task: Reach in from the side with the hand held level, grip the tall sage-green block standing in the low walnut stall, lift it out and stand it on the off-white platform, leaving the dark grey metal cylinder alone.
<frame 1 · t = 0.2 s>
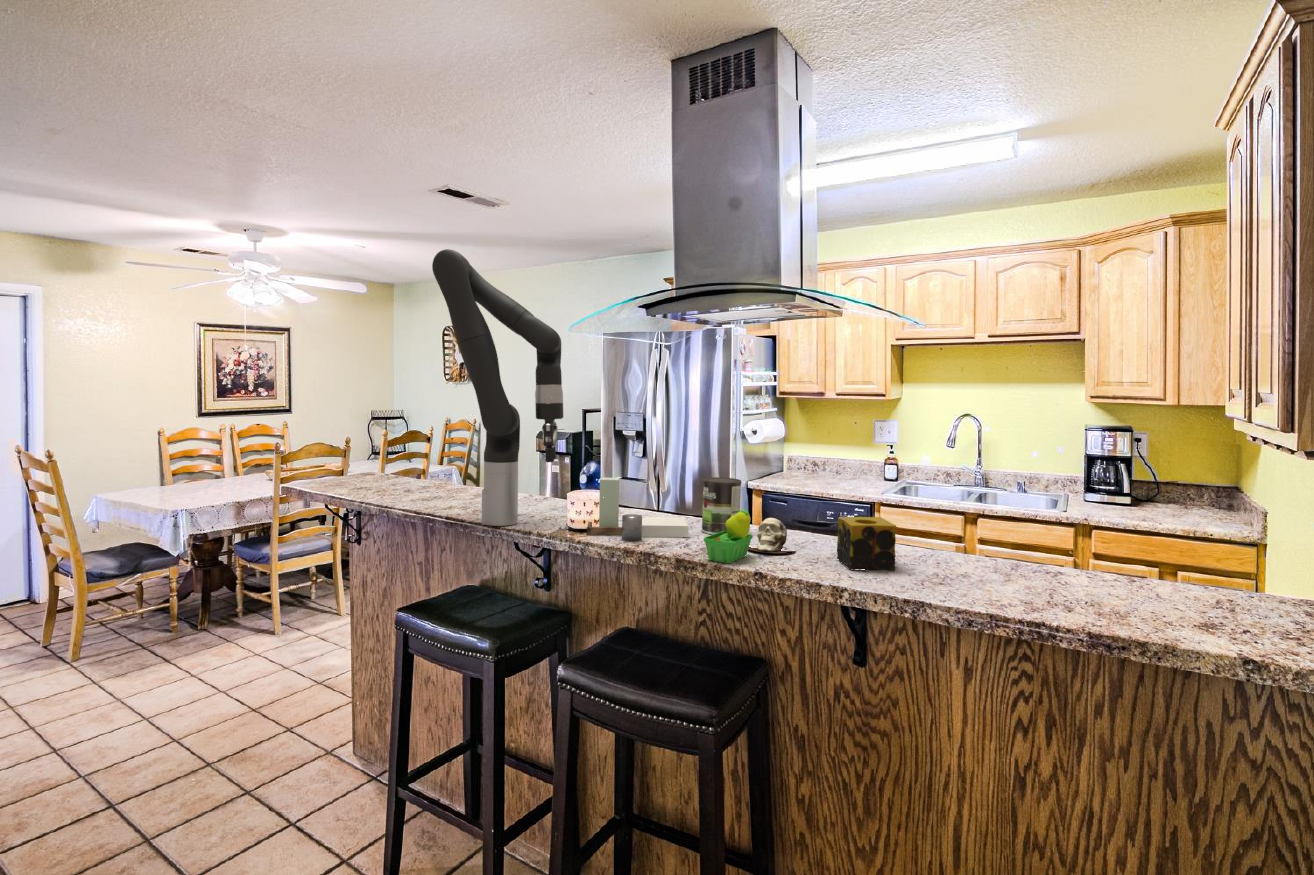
hand: (550, 460, 189), 18 cm above the countertop, tool pointing down, fingers open, 8 cm apart
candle: (865, 566, 151), on the countertop
sage block: (609, 505, 182), in the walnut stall
white platform: (661, 532, 182), on the countertop
skull: (769, 551, 164), on the countertop
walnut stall: (608, 531, 182), on the countertop
fruit basket: (730, 559, 155), on the countertop
coffee can: (720, 532, 185), on the countertop
grey cylinder: (631, 539, 173), on the countertop
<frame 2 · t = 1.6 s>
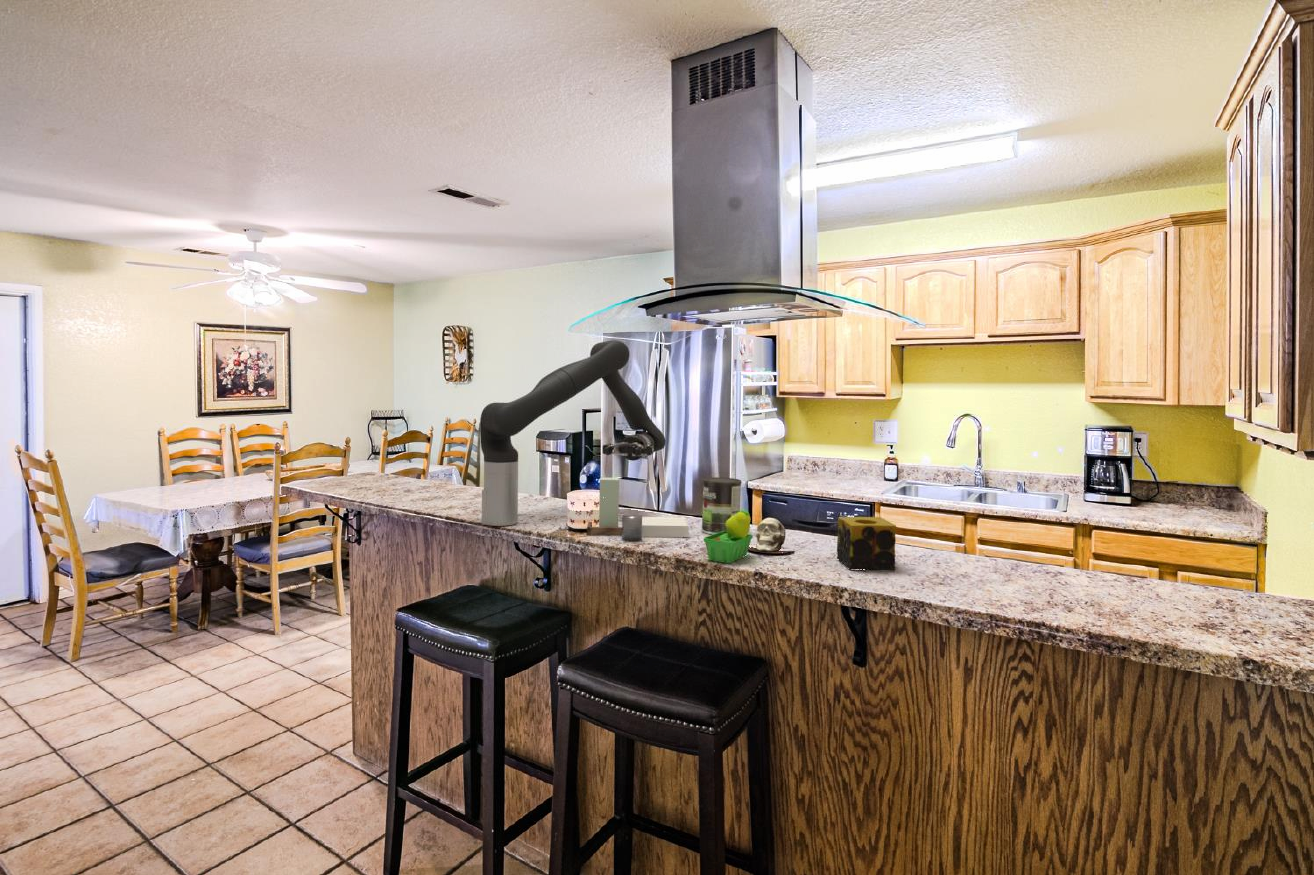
hand: (621, 451, 192), 20 cm above the countertop, tool horizontal, fingers open, 8 cm apart
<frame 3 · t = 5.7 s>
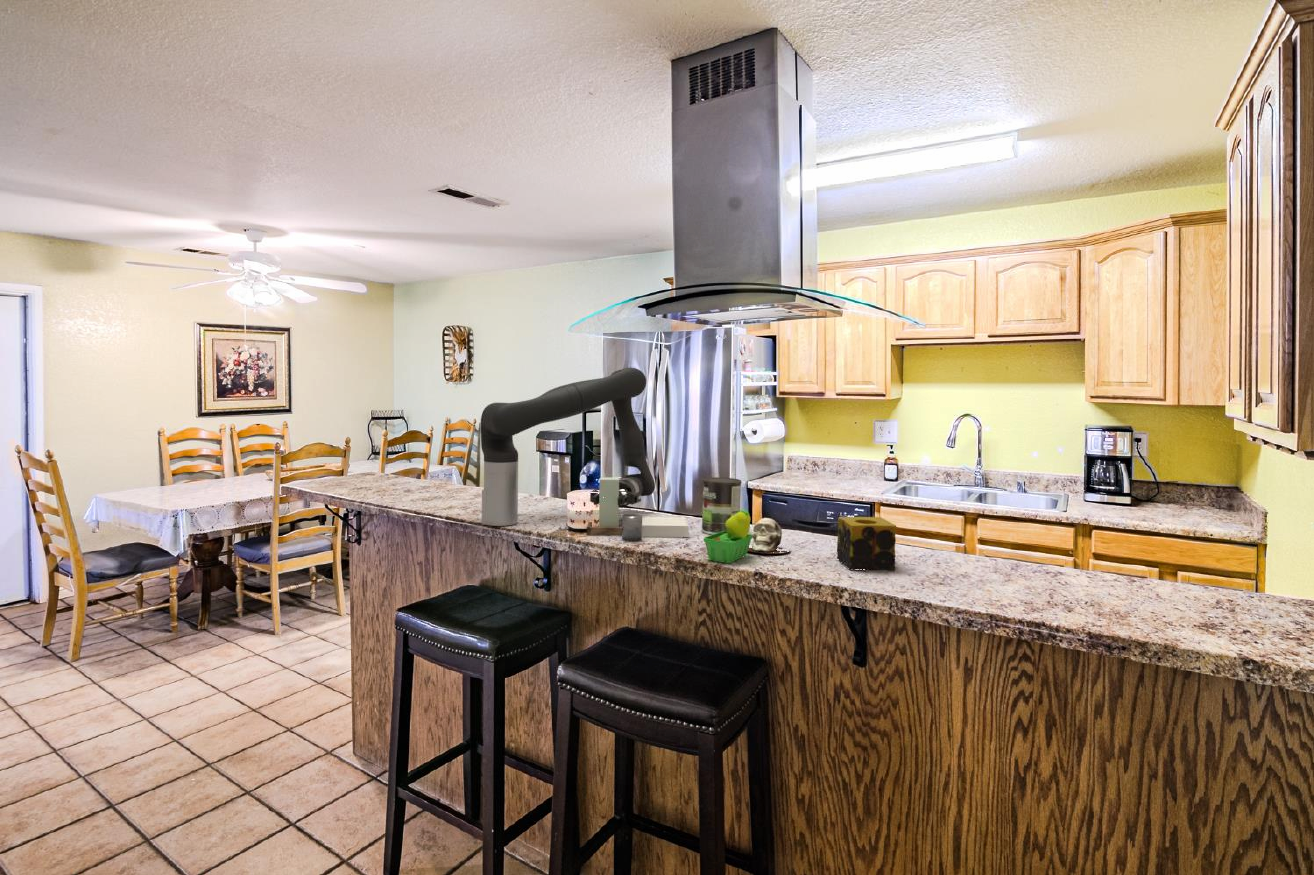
hand: (607, 500, 179), 8 cm above the countertop, tool horizontal, fingers closed on sage block, 6 cm apart
sage block: (609, 504, 182), in the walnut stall, touching gripper
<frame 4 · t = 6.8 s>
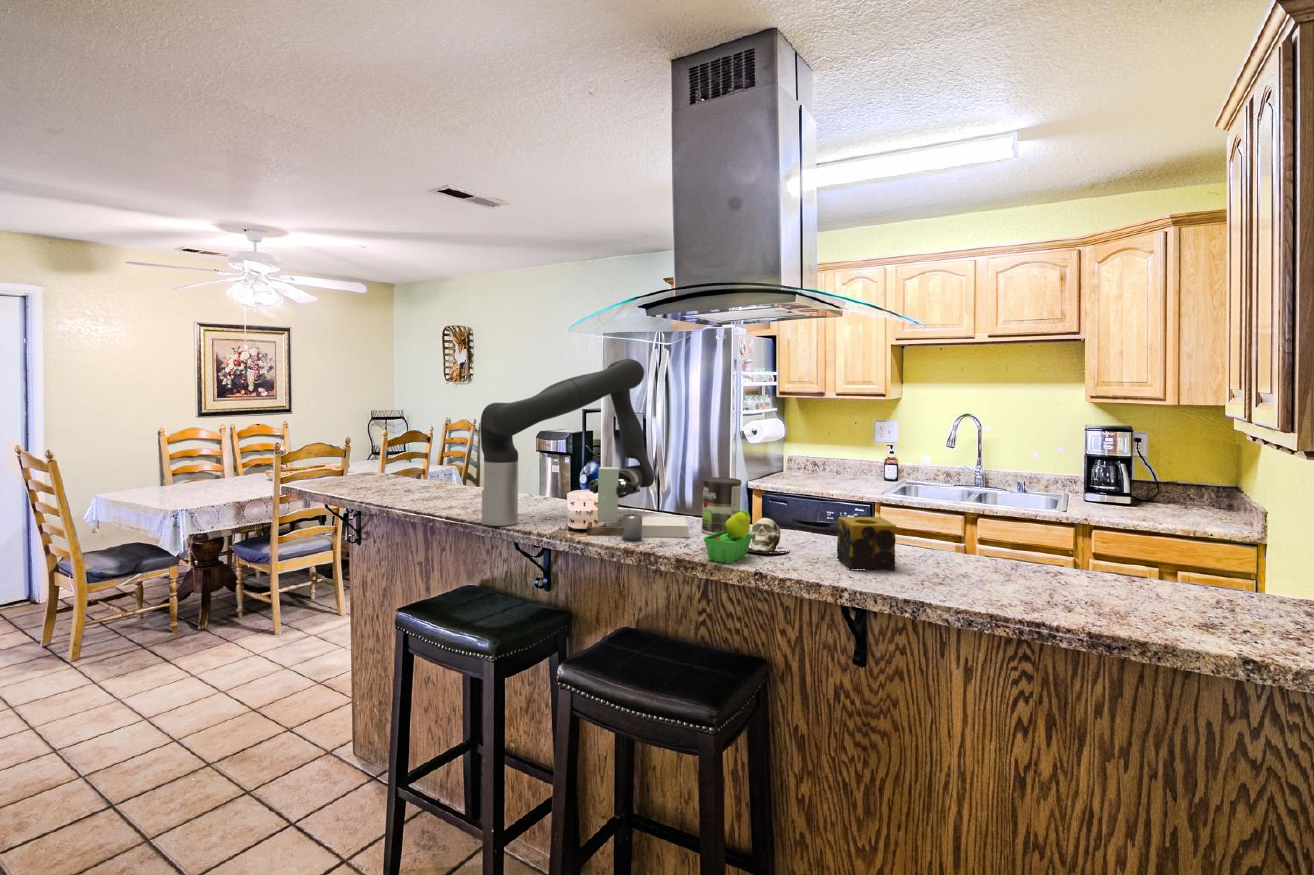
hand: (606, 490, 179), 11 cm above the countertop, tool horizontal, fingers closed on sage block, 6 cm apart
sage block: (608, 494, 182), point 10 cm above the countertop, touching gripper
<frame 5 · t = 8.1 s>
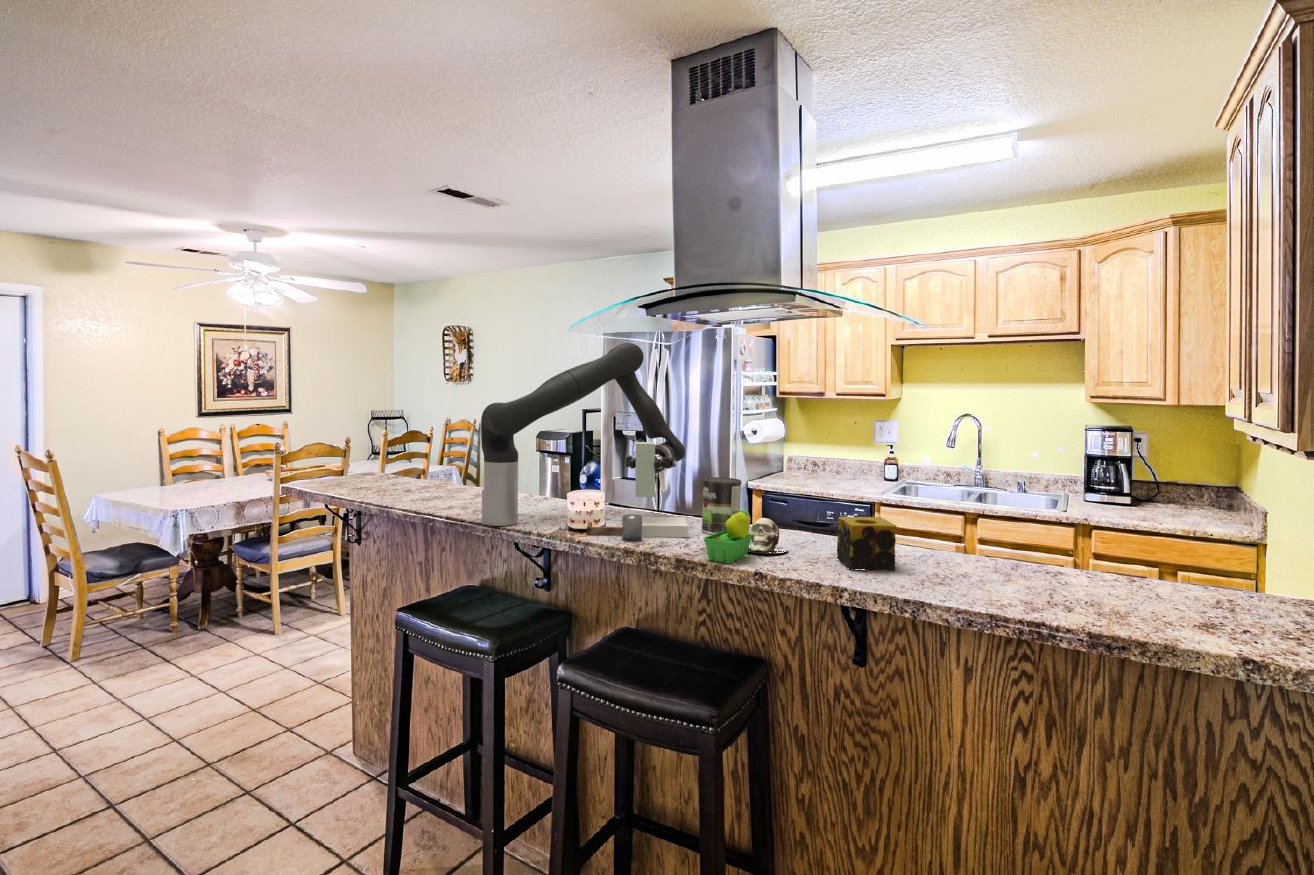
hand: (643, 464, 179), 18 cm above the countertop, tool horizontal, fingers closed on sage block, 6 cm apart
sage block: (645, 469, 182), point 17 cm above the countertop, touching gripper
when the fingers open (13 cm above the countertop, at t = 10.2 s): sage block drops 1 cm, resting on white platform.
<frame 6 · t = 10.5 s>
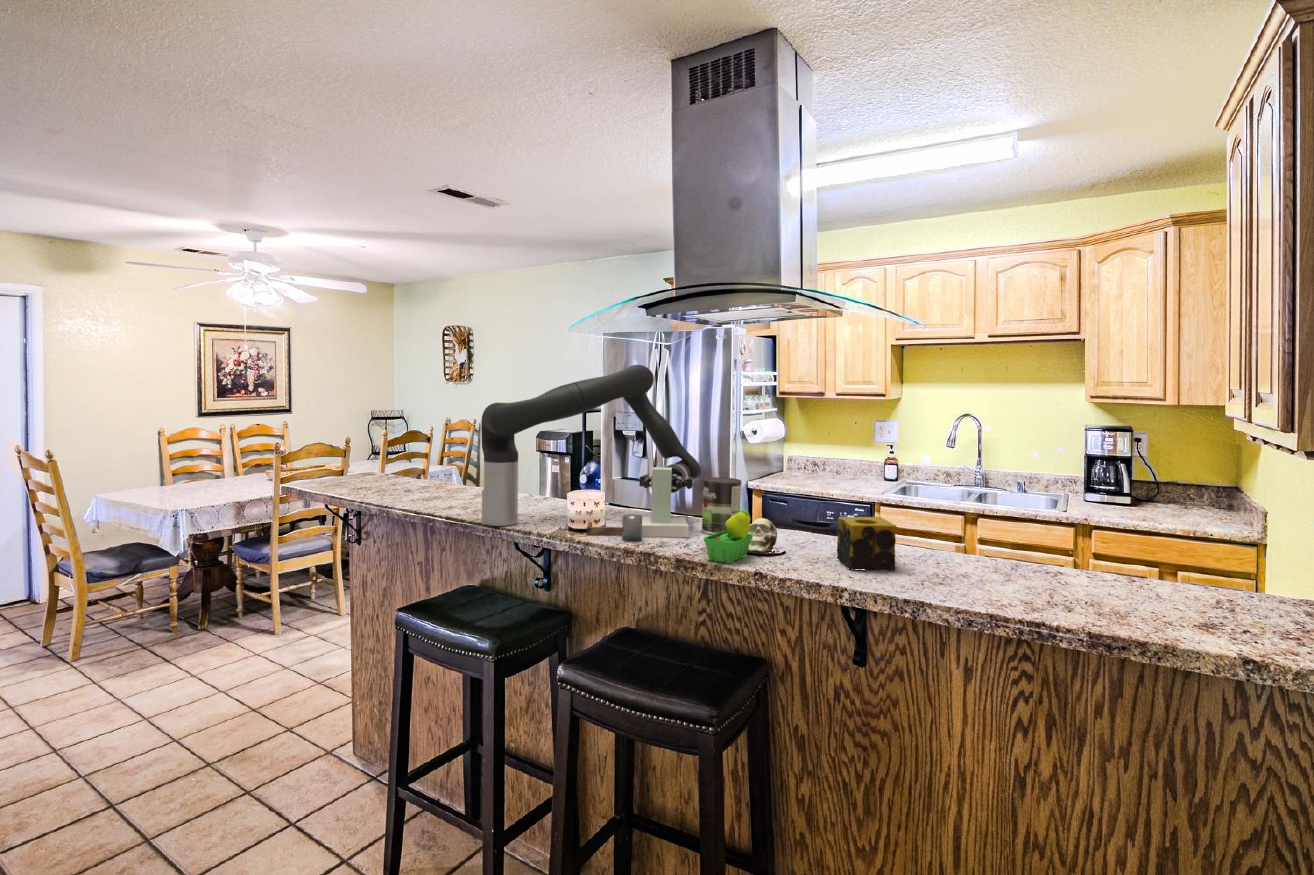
hand: (661, 484, 179), 13 cm above the countertop, tool horizontal, fingers open, 8 cm apart
sage block: (661, 494, 181), on the white platform, point 10 cm above the countertop
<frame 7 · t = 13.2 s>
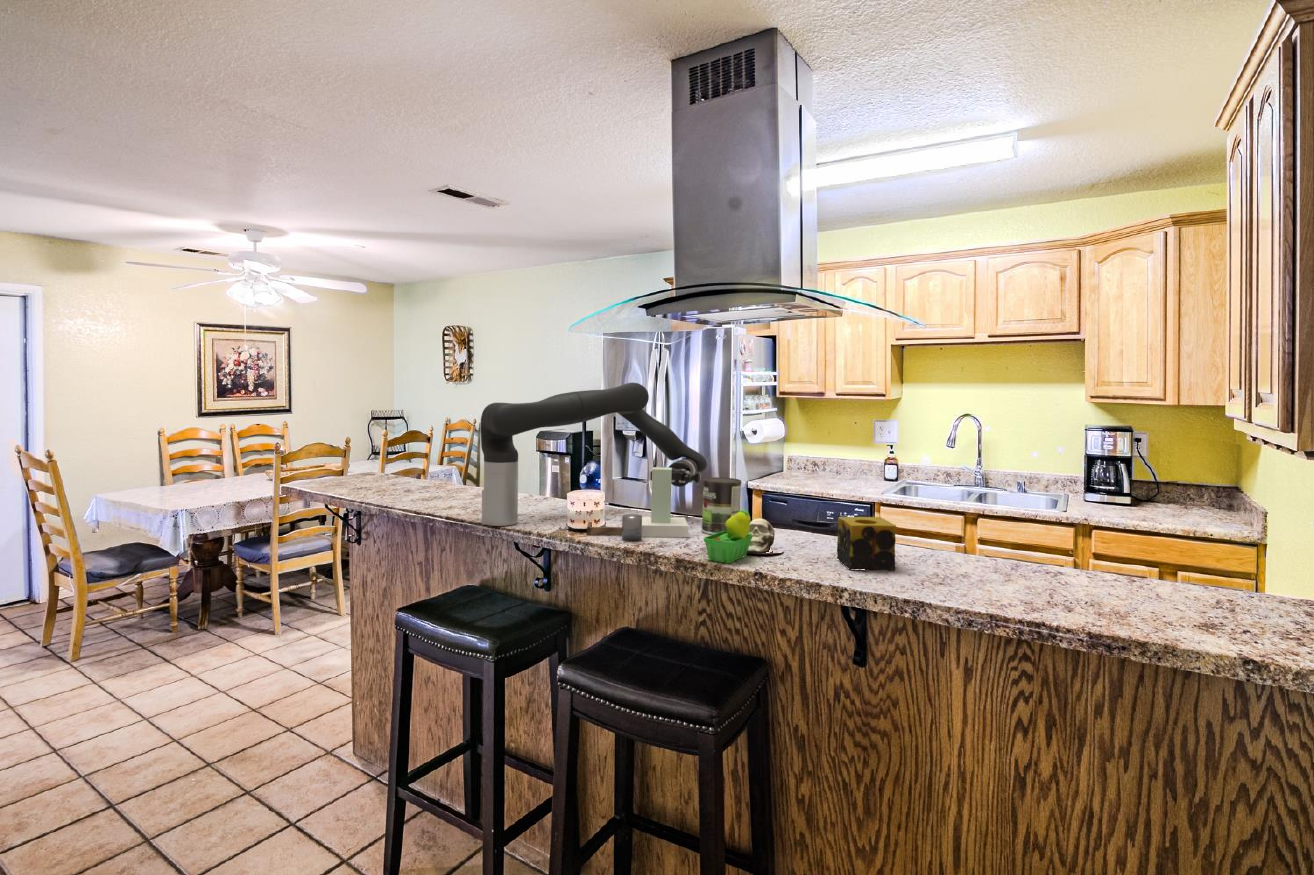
hand: (671, 478, 192), 13 cm above the countertop, tool horizontal, fingers open, 8 cm apart
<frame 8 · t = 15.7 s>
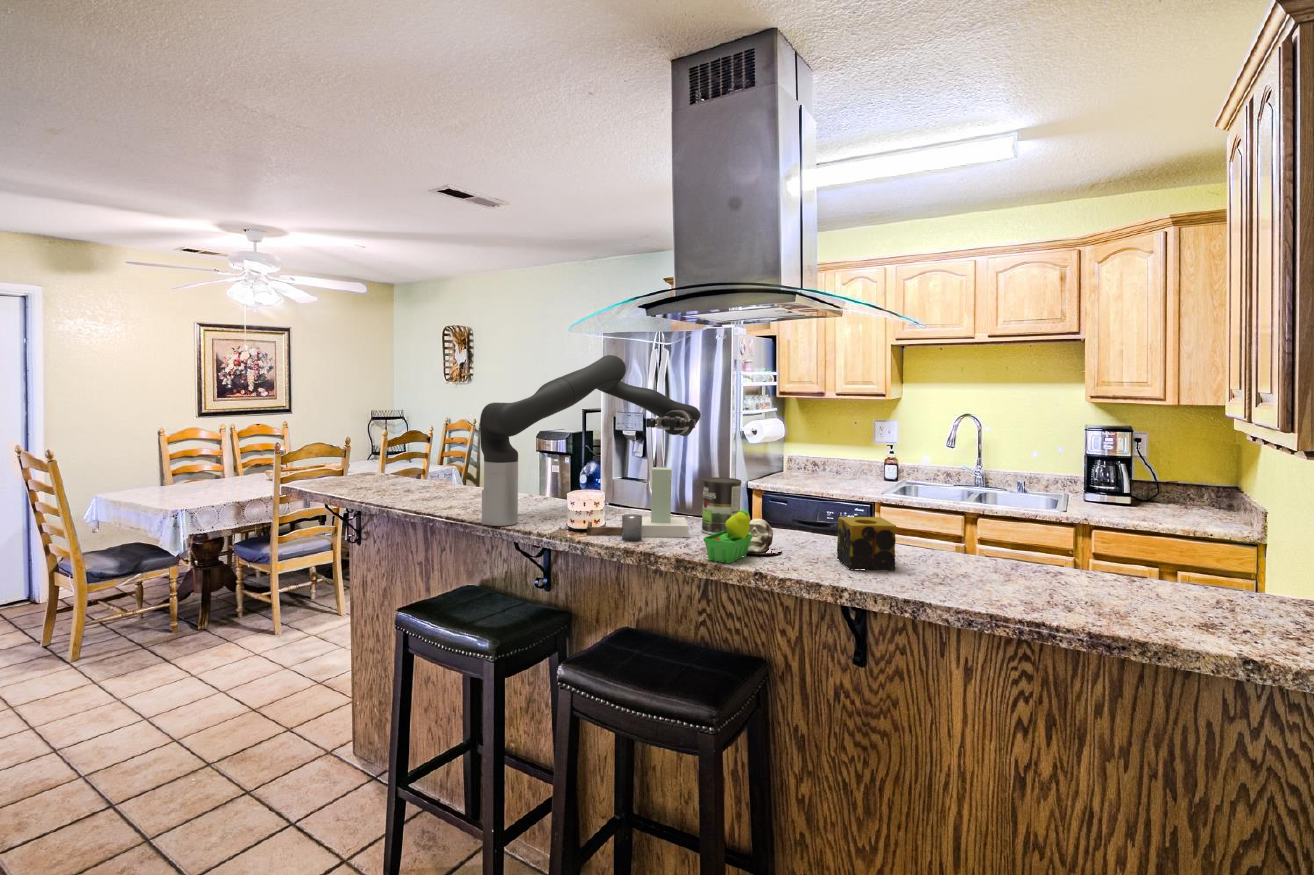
hand: (666, 424, 196), 28 cm above the countertop, tool horizontal, fingers open, 8 cm apart
at the end: sage block inside the target area on the white platform (0.4 cm from its centre), point 10.0 cm above the white platform's base; sage block tilted 0°; the gripper is holding nothing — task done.
